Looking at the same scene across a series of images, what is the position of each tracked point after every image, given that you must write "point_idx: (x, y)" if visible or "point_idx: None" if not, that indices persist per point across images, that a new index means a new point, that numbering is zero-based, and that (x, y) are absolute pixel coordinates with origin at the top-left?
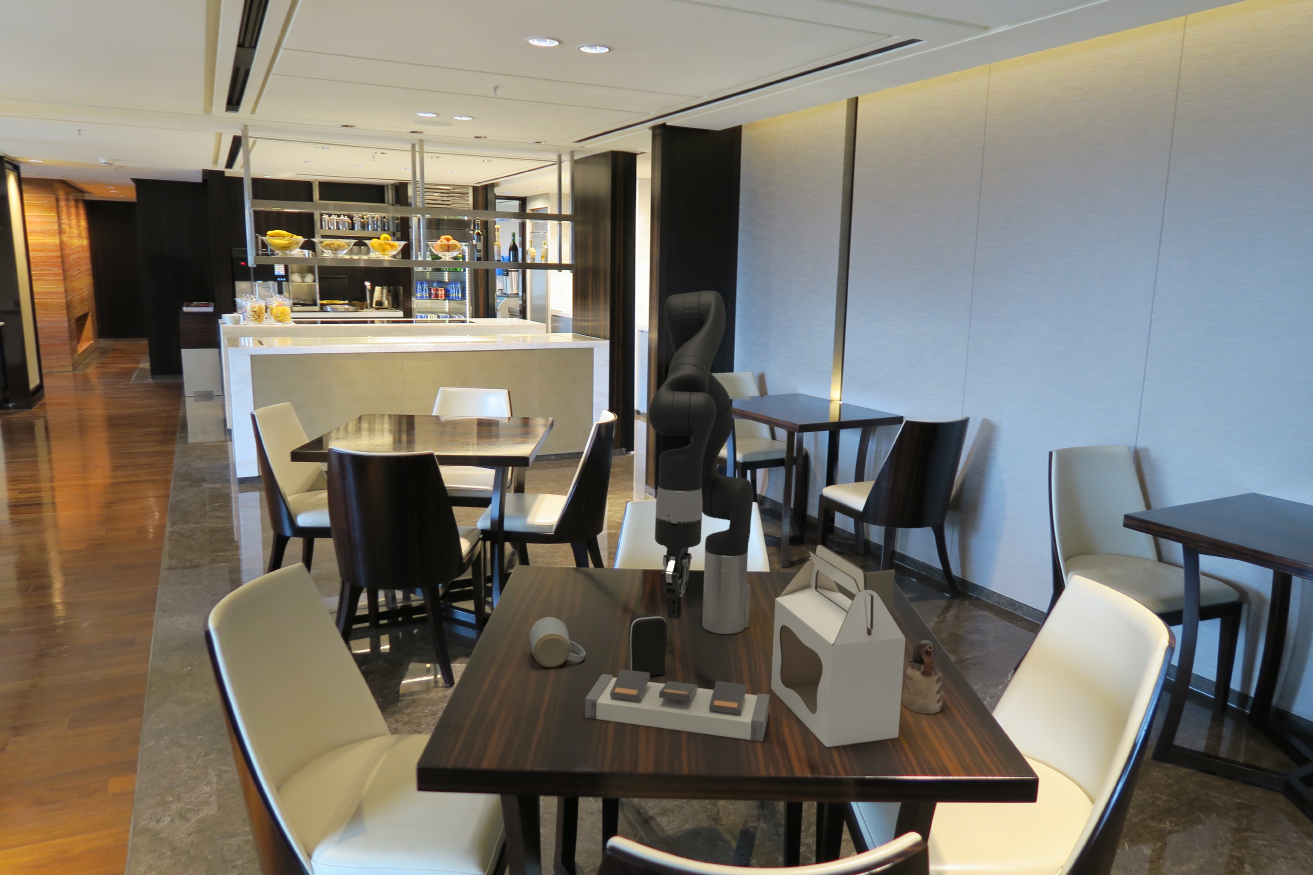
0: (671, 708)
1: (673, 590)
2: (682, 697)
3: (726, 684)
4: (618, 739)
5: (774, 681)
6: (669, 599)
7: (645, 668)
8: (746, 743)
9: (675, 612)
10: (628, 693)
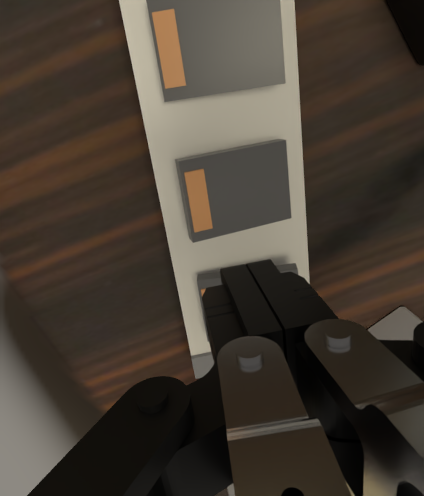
0: (176, 189)
1: (149, 491)
2: (187, 222)
3: None
4: (52, 90)
5: (401, 325)
6: (245, 329)
7: (407, 12)
8: (172, 332)
9: (208, 334)
10: (160, 63)
